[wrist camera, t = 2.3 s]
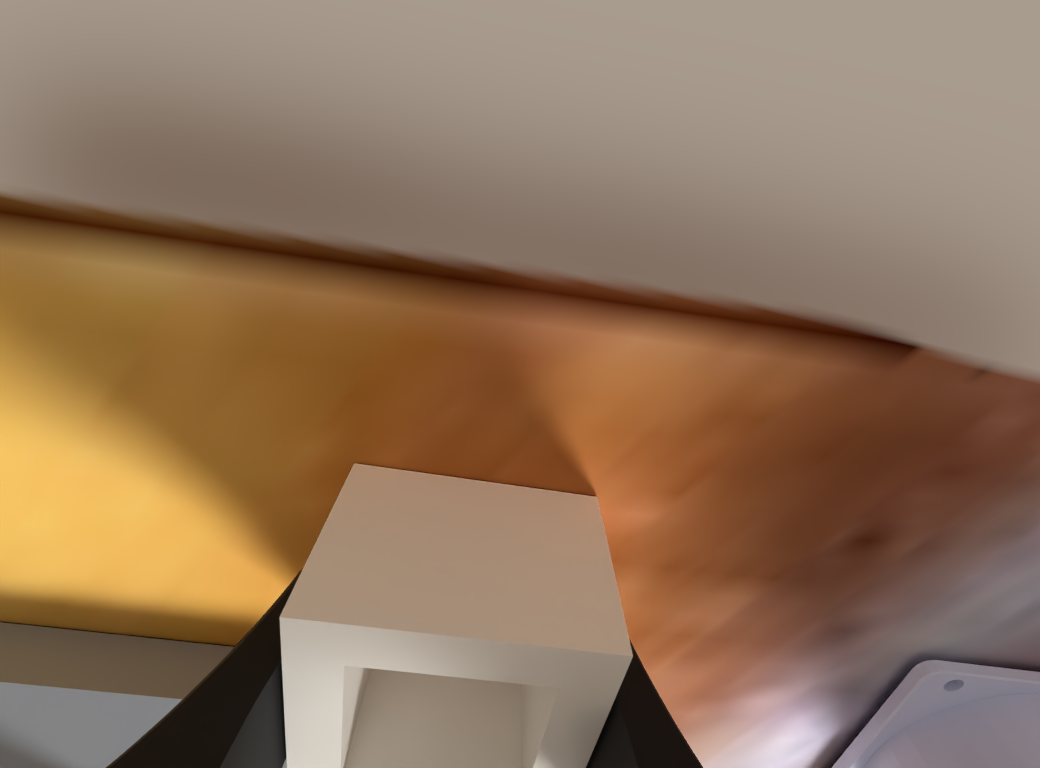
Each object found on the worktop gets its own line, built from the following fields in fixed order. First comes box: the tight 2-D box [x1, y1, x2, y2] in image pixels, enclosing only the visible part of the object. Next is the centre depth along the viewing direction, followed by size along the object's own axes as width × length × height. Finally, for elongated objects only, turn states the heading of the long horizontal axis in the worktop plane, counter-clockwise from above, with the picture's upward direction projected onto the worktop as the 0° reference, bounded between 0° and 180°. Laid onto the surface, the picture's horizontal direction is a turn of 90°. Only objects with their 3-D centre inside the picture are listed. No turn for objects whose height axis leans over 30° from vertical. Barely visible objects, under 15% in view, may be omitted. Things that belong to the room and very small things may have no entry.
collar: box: [279, 463, 633, 768], centre depth 11 cm, size 6×6×4 cm
